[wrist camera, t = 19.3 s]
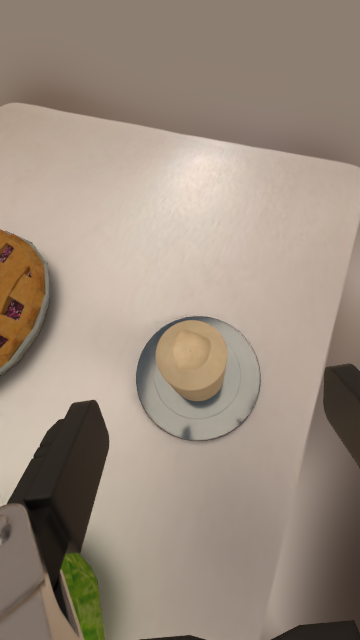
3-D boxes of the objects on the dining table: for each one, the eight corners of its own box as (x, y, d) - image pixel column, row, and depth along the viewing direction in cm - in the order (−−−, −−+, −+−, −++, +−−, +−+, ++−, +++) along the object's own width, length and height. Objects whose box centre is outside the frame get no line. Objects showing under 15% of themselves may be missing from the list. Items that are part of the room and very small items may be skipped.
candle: (165, 357, 31) (143, 325, 22) (213, 342, 31) (213, 303, 22) (179, 409, 29) (162, 397, 19) (231, 392, 29) (239, 373, 19)
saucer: (274, 342, 32) (276, 338, 30) (235, 463, 28) (236, 464, 26) (167, 305, 35) (165, 300, 33) (118, 409, 31) (114, 408, 29)
